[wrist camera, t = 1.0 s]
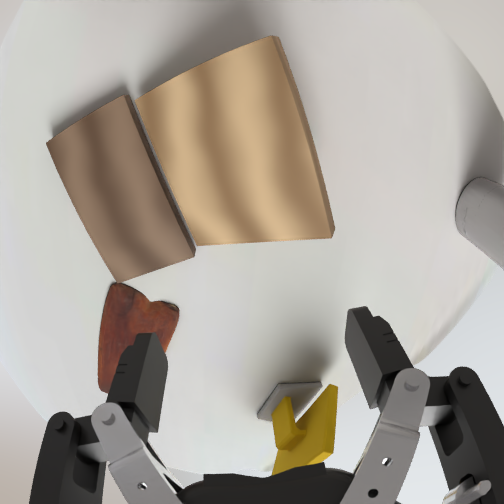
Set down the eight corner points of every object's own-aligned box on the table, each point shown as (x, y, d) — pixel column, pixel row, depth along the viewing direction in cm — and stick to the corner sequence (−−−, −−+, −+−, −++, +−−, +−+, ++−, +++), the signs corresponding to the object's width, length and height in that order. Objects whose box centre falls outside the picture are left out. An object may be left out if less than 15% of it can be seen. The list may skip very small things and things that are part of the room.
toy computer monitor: (285, 427, 53) (296, 493, 39) (249, 425, 51) (255, 495, 37) (332, 370, 44) (359, 452, 30) (289, 365, 43) (308, 456, 29)
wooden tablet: (111, 275, 34) (107, 282, 32) (184, 303, 36) (183, 312, 35) (93, 385, 44) (91, 392, 43) (143, 403, 47) (142, 410, 45)
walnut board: (129, 95, 24) (123, 94, 22) (195, 249, 32) (194, 256, 31) (53, 140, 25) (45, 142, 23) (121, 275, 33) (117, 283, 32)
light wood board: (278, 37, 17) (271, 35, 16) (335, 228, 24) (331, 238, 23) (145, 97, 24) (134, 100, 23) (204, 238, 31) (197, 245, 30)
